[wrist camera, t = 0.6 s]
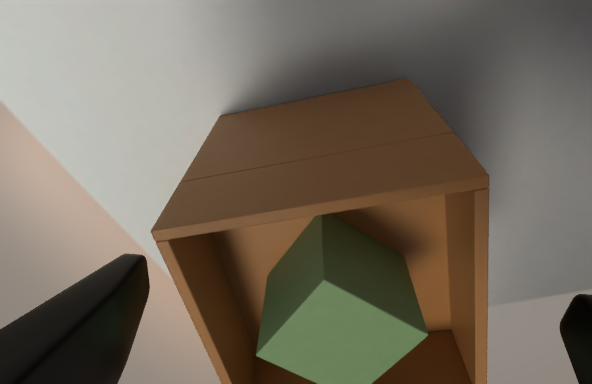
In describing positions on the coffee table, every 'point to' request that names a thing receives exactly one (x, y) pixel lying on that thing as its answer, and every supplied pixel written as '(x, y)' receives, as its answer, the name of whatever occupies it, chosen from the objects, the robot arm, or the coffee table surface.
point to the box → (343, 204)
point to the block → (339, 306)
